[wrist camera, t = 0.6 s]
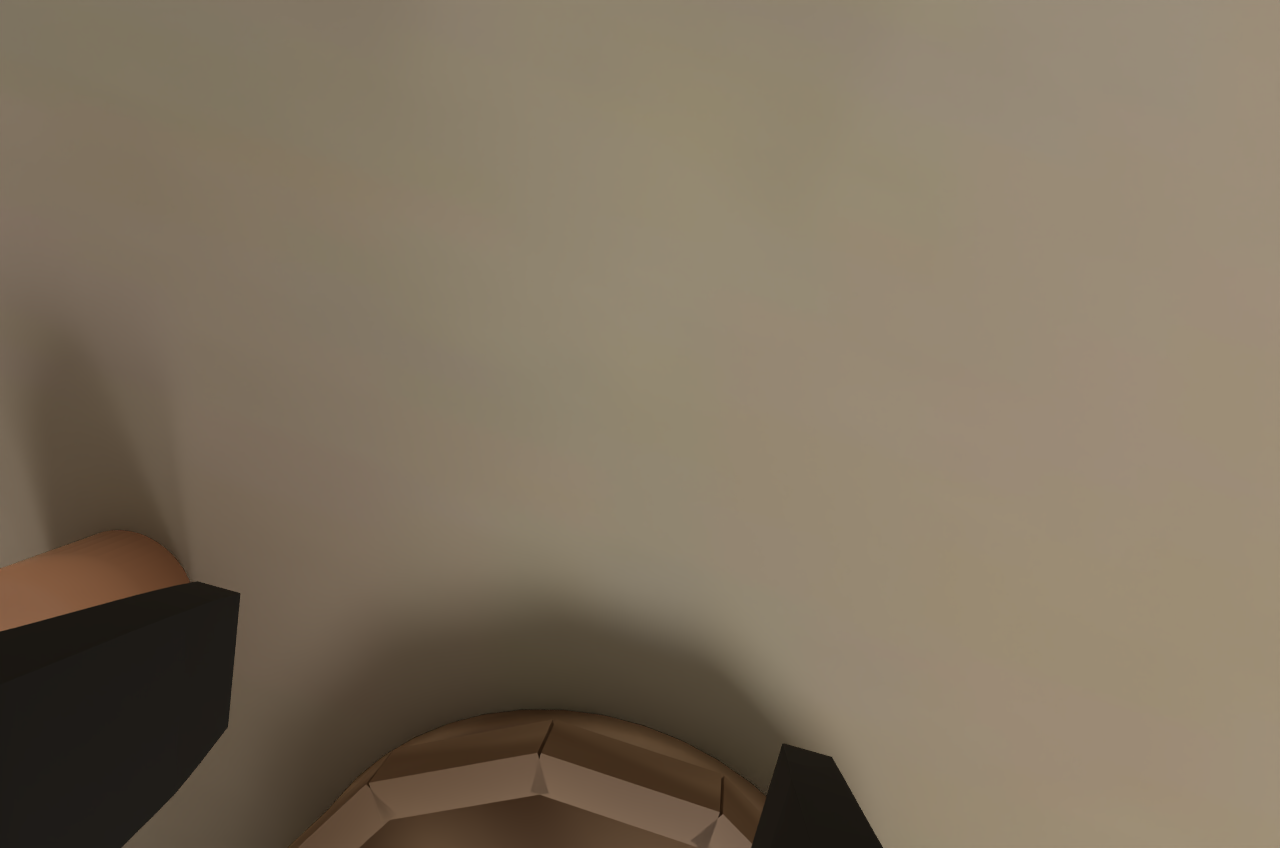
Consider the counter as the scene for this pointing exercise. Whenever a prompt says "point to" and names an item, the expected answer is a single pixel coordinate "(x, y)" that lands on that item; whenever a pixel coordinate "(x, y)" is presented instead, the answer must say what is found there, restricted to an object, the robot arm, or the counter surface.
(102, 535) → the peach rounded cylinder
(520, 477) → the counter surface
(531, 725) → the walnut groove tray
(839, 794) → the robot arm
